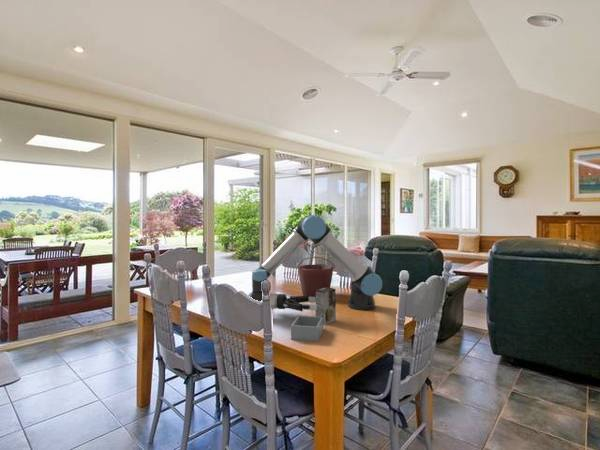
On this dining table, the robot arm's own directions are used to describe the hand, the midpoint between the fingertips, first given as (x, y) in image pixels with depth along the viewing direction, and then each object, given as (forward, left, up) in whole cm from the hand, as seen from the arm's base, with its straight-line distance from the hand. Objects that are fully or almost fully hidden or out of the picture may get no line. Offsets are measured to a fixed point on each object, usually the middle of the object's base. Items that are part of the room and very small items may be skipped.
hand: (319, 303), depth 174 cm
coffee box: (-3, 0, -9) cm, 10 cm away
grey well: (+2, +20, -9) cm, 22 cm away
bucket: (+11, -52, -9) cm, 54 cm away
